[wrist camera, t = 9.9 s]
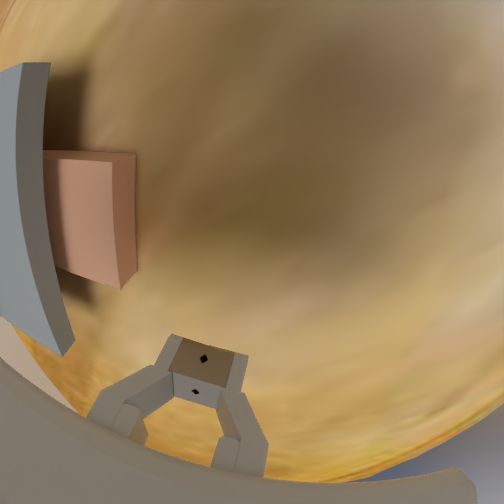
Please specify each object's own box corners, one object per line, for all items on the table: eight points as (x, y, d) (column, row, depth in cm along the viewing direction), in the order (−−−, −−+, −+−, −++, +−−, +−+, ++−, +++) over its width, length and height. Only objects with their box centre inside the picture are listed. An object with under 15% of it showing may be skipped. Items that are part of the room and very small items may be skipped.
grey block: (13, 83, 15) (-54, 96, 7) (95, 65, 15) (4, 63, 7) (28, 276, 27) (-15, 316, 19) (99, 310, 26) (54, 367, 18)
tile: (30, 149, 19) (5, 158, 16) (139, 153, 18) (112, 162, 15) (40, 237, 24) (19, 252, 21) (139, 267, 23) (120, 289, 20)
